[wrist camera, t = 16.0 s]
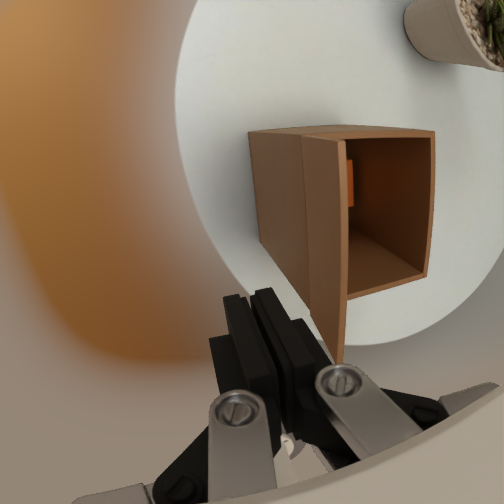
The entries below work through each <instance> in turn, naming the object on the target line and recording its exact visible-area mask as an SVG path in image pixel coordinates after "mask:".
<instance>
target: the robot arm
mask: <svg viewBox="0 0 504 504" xmlns="http://www.w3.org/2000/svg"><path fill="white" fill-rule="evenodd" d="M223 302H224V308H225V314H226V319H227V325H228V330H229V334H228V335H223V336H218V337H213V338H209V343H210V348H211V353H212V358H213V362H214V368H215V373H216V377H217V382H218V387H219V391H220V395H219V396H218V397H217V398H216V399H215V400H214V401H213V403H212V404H211V406H210V410H209V425H208V426H207V427H206V428H205V430H204V431H203V432H202V433H201V434H200V435H199V436H198V437H197V438H196V439H195V440H194V441H193V442H192V444H190V445H189V447H188V448H187V449H186V450H185V451H184V452H183V453H182V454H181V455H180V456H179V457H178V458H177V459H176V460H175V461H174V462H173V463H172V464H171V465H170V466H169V467H168V468H167V469H166V470H165V471H164V472H163V473H162V474H161V475H160V476H159V477H158V478H157V480H156V481H155V482H154V483H151V484H148V485H144V484H143V483H139V484H136V485H132V486H128V487H124V488H120V489H116V490H111V491H106V492H102V493H96V494H91V495H86V496H82V497H79V498H77V499H76V500H75V501H74V502H72V504H504V384H502V385H500V386H499V385H497V384H495V383H491V382H488V383H482V384H479V385H477V386H474V387H471V388H467V389H464V390H461V391H458V392H455V393H452V394H448V395H445V396H441V397H440V398H439V400H438V401H436V400H433V399H430V398H426V397H420V396H416V395H411V394H406V393H401V392H397V391H392V390H388V389H383V388H379V387H378V386H377V385H376V384H375V383H374V382H373V381H372V380H371V379H370V378H369V377H368V376H367V375H366V374H365V373H364V372H363V371H362V370H360V369H359V368H358V367H356V366H353V365H350V364H344V363H340V364H332V363H331V361H330V360H329V358H328V357H327V355H326V354H325V352H324V350H323V349H322V347H321V346H320V344H319V343H318V341H317V340H316V338H315V336H314V335H313V333H312V332H311V330H310V329H309V327H308V326H307V324H306V323H305V321H304V320H303V319H302V318H300V319H295V320H290V318H289V316H288V315H287V313H286V311H285V309H284V308H283V306H282V304H281V303H280V301H279V299H278V298H277V296H276V294H275V292H274V291H273V289H272V288H271V287H270V288H265V289H260V290H255V295H251V296H250V302H251V308H250V306H249V303H248V301H247V299H246V297H242V298H240V296H239V294H235V295H230V296H225V297H223ZM281 422H282V424H283V427H284V429H285V432H286V433H287V434H289V433H293V436H294V438H295V440H296V441H297V440H302V442H305V443H309V444H311V445H312V448H313V450H314V452H315V453H316V455H317V457H318V458H319V459H320V461H321V462H322V464H323V465H324V466H325V468H326V469H327V471H328V472H329V473H327V474H324V475H321V476H318V477H315V478H312V479H308V480H305V481H302V482H299V480H298V477H297V475H296V472H295V470H294V467H293V465H292V462H291V460H290V457H289V456H290V454H291V453H292V451H293V449H294V444H293V441H292V439H291V438H290V437H289V436H288V435H286V434H283V433H282V425H281Z"/></svg>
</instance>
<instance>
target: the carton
mask: <svg viewBox="0 0 504 504" xmlns="http://www.w3.org/2000/svg"><path fill="white" fill-rule="evenodd" d="M304 135H308V136H316V137H324V138H331V139H338V140H344V141H345V143H346V158H347V159H352V163H353V192H354V206H352V207H348V285H347V300H350V299H354V298H358V297H361V296H365V295H368V294H372V293H375V292H379V291H382V290H386V289H389V288H392V287H396V286H399V285H402V284H406V283H409V282H412V281H415V280H419V279H422V278H425V277H427V271H428V263H429V255H430V246H431V237H432V226H433V212H434V194H435V131H427V130H418V129H407V128H396V127H382V126H364V125H326V126H308V127H293V128H281V129H270V130H260V131H251V132H248V137H249V146H250V155H251V164H252V172H253V181H254V191H255V200H256V209H257V218H258V227H259V237H260V242H261V244H262V245H263V246H264V248H265V249H266V251H267V252H268V253H269V255H270V256H271V257H272V259H273V260H274V262H275V263H276V264H277V266H278V267H279V268H280V270H281V271H282V273H283V274H284V275H285V277H286V278H287V280H288V281H289V282H290V284H291V285H292V286H293V288H294V289H295V291H296V292H297V293H298V295H299V296H300V298H301V299H302V300H303V302H304V303H305V304H306V306H307V307H308V309H309V310H310V280H309V252H308V231H307V212H306V196H305V181H304V168H303V155H302V143H301V136H304Z"/></svg>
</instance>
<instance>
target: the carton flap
mask: <svg viewBox="0 0 504 504" xmlns="http://www.w3.org/2000/svg"><path fill="white" fill-rule="evenodd" d="M301 143H302V155H303V168H304V181H305V196H306V212H307V231H308V252H309V280H310V316H311V317H312V319H313V321H314V323H315V325H316V327H317V329H318V331H319V333H320V335H321V337H322V338H323V340H324V342H325V344H326V346H327V348H328V350H329V352H330V354H331V356H332V358H333V359H334V362H335V364H340V363H343V353H344V341H345V326H346V308H347V285H348V184H347V160H346V143H345V141H344V140H338V139H331V138H324V137H316V136H308V135H304V136H301Z"/></svg>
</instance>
